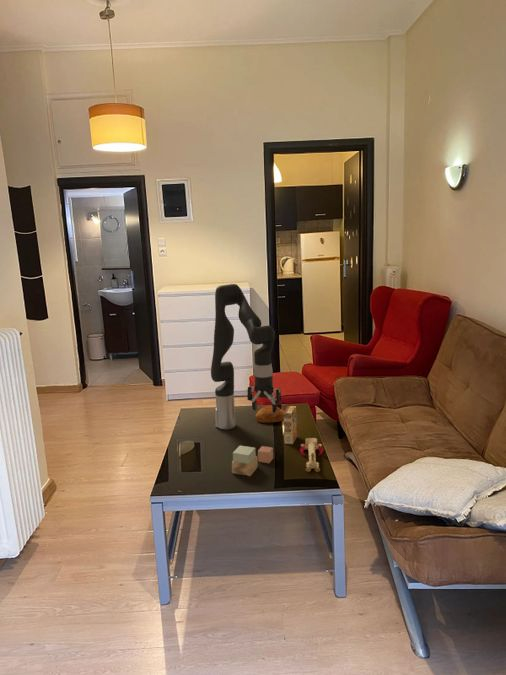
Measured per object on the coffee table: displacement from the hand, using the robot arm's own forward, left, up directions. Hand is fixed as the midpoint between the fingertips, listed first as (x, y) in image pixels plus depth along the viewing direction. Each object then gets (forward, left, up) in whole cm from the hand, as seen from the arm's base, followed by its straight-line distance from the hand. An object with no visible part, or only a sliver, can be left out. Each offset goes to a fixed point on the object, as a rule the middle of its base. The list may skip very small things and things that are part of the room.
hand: (264, 411), depth 206 cm
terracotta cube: (0, 0, -22) cm, 22 cm away
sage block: (-5, -11, -17) cm, 21 cm away
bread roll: (-14, +44, -23) cm, 51 cm away
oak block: (-5, -11, -22) cm, 26 cm away
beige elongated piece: (+18, +8, -23) cm, 30 cm away
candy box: (+4, +22, -22) cm, 31 cm away
